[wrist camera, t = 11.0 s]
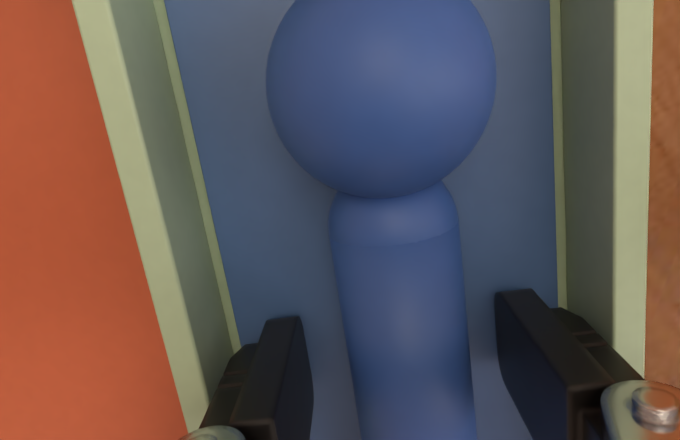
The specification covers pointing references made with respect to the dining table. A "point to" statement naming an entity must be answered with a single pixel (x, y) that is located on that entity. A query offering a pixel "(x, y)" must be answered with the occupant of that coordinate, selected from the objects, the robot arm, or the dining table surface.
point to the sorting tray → (281, 207)
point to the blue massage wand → (391, 189)
